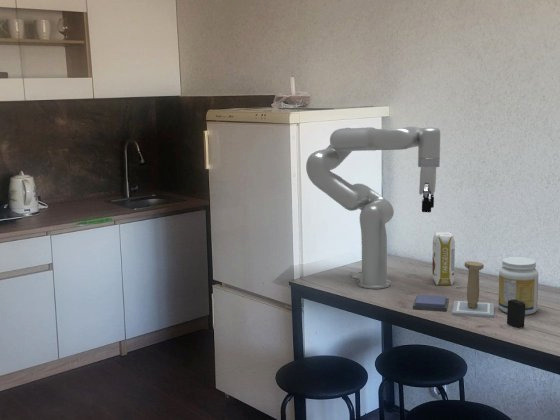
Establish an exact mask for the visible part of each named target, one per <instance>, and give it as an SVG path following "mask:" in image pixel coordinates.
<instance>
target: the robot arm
mask: <svg viewBox="0 0 560 420" xmlns="http://www.w3.org/2000/svg"><path fill="white" fill-rule="evenodd" d="M329 143H330V144H329V145H328V146H327V147H326V148H325V149H319V150H316V151H314V152H313V153H311V154H310V155H309V156H308V157H307V160H306V166H305V168H306V174H307V177H308V179H309V180H310V182H311V183H312V184H313V185H314V186H315V187H317V189H318V190H320V191H322V192H323V193H325V195H327V196H328V197H329V198H330V199H332V200H333V201H335V202H336V203H337V204H339V205H340V206H342V208H344V209H345V210H347V211H351V212H353V211H357V210H360V213H359V226H360V234H361V235H360V237H361V272H350V278H352V279H354V280H357V285H358V286H359V287H361V288H365V289H371V290H373V289H374V290H375V289H376V290H377V289H386V288H389V287H391V285H392V281H391V280H390V279H388V236H387V229H386V224H387V223H388V222H390V221H391V220H392V218H393V217H394V211H395V210H394V207H393V205H392V204H391V202H390V201H389V200H387V199H386V198H385V197H384V196H382V195H381V194H379V193H378V192H376V191H375V190H374V189H373V188H371V187H369V186H368V185H366V184H364V183H353V184H352V183H349V182H348V181H347V180H345V179H343V177H341V176H340V175H339V174H336V173H334V172H333V170H334V169H336V168H337V167H338V166H340V165H341V163H342V162H344V160H345V159H347V157H348V156H349V155H350V154H351V153H352V152H356V151H357V152H359V151H360V152H361V151H370V152H371V151H373V152H374V151H399V150H408V149H410V148H416V147H418V149H417V150H418V152H417V167H418V168H420V173H419V188H418V194H419V196H421V195H422V198H421V199H422V200H421V212H422V213H431V212H432V209H433V208H434V207H435V206H434V205H435V204H434V203H435V197H434V194H435V191H436V186H437V185H436V183H437V181H436V180H437V168H439V167H440V165H441V163H440V161H441V159H440V158H441V130H440V128H438V127H416V126H405V127H401V128H400V127H399V128H375V127H369V126H368V127H343V128H339V129H335V130H334V131H333V132H331V135H330V136H329Z"/></svg>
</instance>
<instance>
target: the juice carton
mask: <svg viewBox="0 0 560 420" xmlns="http://www.w3.org/2000/svg"><path fill="white" fill-rule="evenodd" d="M455 245H456V241H455V238H454V235H452V233H451V232H447V231H446V232H445V231H444V232H443V231H438V232H437V231H436V232H434V233H433V238H432V265H431V266H432V269H431V270H432V271H431V272H432V277H433V281H434V283H435V285H436V286H452V285H453V284H454V281H455V263H456V262H455V261H456V260H455V255H456V254H455V251H456V249H455V247H456V246H455Z"/></svg>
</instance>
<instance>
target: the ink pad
mask: <svg viewBox="0 0 560 420" xmlns="http://www.w3.org/2000/svg"><path fill="white" fill-rule="evenodd" d="M449 300H450V298H449V297H447V295H435V294H434V295H433V294H432V295H431V294H418V295H417V296H416V297H415V299H414V302H413V304H412V310H420V311H435V312H447V311H448V306H449Z"/></svg>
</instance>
